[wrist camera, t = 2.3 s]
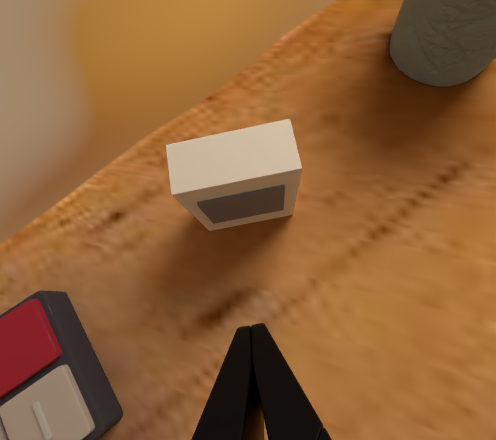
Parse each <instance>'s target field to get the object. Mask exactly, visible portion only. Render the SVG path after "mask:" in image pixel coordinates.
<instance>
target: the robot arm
mask: <svg viewBox="0 0 496 440" xmlns="http://www.w3.org/2000/svg"><path fill="white" fill-rule="evenodd" d="M264 421H265V425H266V430H267V435H268V440H332V439H331V438H330V436H329V434H328V432H327V431H326V429H325V428H323V424H322V422H321V421H320V419H319V417H318V415H317V414H316V412H315V410H314V409H313V407H312V405H311V403H310V402H309V400H308V398H307V396H306V395H305V393H304V391H303V390H302V388H301V386H300V384H299V383H298V381H297V379H296V377H295V376H294V374H293V372H292V371H291V369H290V367H289V365H288V364H287V362H286V360H285V358H284V357H283V355H282V353H281V352H280V350H279V348H278V346H277V345H276V343H275V341H274V339H273V338H272V336H271V334H270V333H269V331H268V329H267V327H266V326H265V324H264V323H260V324H255V325H252V326H243V327H239V328H238V329H237V330H236V333H235V335H234V338H233V340H232V342H231V345H230V347H229V350H228V352H227V355H226V357H225V359H224V362H223V364H222V367H221V369H220V372H219V374H218V376H217V379H216V381H215V384H214V386H213V389H212V391H211V393H210V396H209V398H208V401H207V403H206V406H205V408H204V410H203V413H202V415H201V418H200V420H199V423H198V425H197V427H196V430H195V432H194V435H193V437H192V440H264Z"/></svg>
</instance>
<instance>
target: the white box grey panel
mask: <svg viewBox="0 0 496 440" xmlns="http://www.w3.org/2000/svg"><path fill="white" fill-rule="evenodd" d="M166 149H167V158H168V167H169V176H170V185H171V194H172V196H173V197H174V198H176V199H177V200H178V201H179V202H180V203H181V204H182V205H183V206H184V207H185V208H186V209H187V210H188V211H189V212H190V213H191V214H192V215H193V216H194V217H195V218H196V219H197V220H199V221H200V222H201V223H202V224H203V225H204V226H205V227H206V228H207V229H208V230H209V231H213V230H218V229H223V228H228V227H233V226H238V225H244V224H249V223H254V222H259V221H264V220H269V219H274V218H279V217H284V216H289V215H293V212H294V207H295V202H296V196H297V191H298V186H299V181H300V176H301V171H302V166H301V162H300V158H299V154H298V150H297V146H296V141H295V137H294V133H293V129H292V125H291V121H290V119H286V120H282V121H277V122H272V123H267V124H263V125H258V126H253V127H249V128H244V129H239V130H234V131H230V132H225V133H220V134H216V135H211V136H206V137H201V138H197V139H192V140H187V141H183V142H178V143H173V144H168V145H166Z"/></svg>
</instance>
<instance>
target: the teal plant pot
mask: <svg viewBox="0 0 496 440" xmlns="http://www.w3.org/2000/svg"><path fill="white" fill-rule="evenodd" d="M390 55H391V57H392V59H393V61H394V63H395V65H396V66H397V69H399V70H400V71H402V72H404V75H406V76H408V77H409V78H411V79H413V80H415V81H418V82H420V83H423V84H427V85H430V86H431V85H433V86H438V87H448V86H454V85H458V84H461V83H464V82H466V81H468V80H470V79H472V78H473V77H475V76H476V75H478V74H479V73H480V72H482V71H483V70H484V69H485V68H486V67H487V66H488V65H489V64H490V63H491V62H492V61H493V60H494V59H495V58H496V0H404V1H403V3H402V6H401V9H400V11H399V14H398V17H397V19H396V22H395V25H394V28H393V31H392V34H391V39H390Z"/></svg>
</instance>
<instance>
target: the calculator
mask: <svg viewBox="0 0 496 440" xmlns="http://www.w3.org/2000/svg"><path fill="white" fill-rule="evenodd" d="M122 416H123V411H122V408H121V406H120V404H119V402H118V400H117V398H116V396H115V394H114V391H113V389H112V387H111V385H110V383H109V381H108V379H107V377H106V375H105V373H104V371H103V368H102V366H101V364H100V362H99V360H98V358H97V356H96V354H95V352H94V350H93V348H92V345H91V343H90V341H89V339H88V337H87V335H86V333H85V331H84V329H83V327H82V324H81V322H80V320H79V318H78V316H77V314H76V312H75V310H74V308H73V306H72V304H71V301H70V299H69V297H68V295H67V294H66V293H65V292H58V291H38V292H36V293H34V294H33V295H31V296H30V297H28V298H27V299H25V300H23V301H22V302H20V303H19V304H17V305H16V306H14V307H13V308H11V309H10V310H8V311H7V312H5V313H3V314H2V315H0V440H95V439H97V438H98V437H99V436H101V435H102V434H103V433H105V432H106V431H107V430H108V429H110V428H111V427H112V426H113V425H114V424H116V423H117V422H118V421H119V420H120V419H121V418H122Z"/></svg>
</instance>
